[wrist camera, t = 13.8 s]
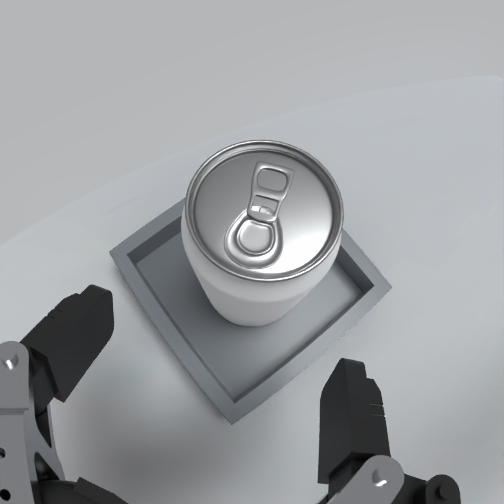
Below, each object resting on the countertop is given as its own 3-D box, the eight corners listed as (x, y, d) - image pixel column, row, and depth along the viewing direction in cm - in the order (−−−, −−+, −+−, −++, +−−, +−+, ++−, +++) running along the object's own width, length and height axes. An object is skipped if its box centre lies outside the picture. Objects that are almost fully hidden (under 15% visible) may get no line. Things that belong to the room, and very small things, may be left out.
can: (194, 313, 21) (144, 263, 10) (221, 229, 23) (208, 117, 12) (285, 338, 21) (339, 317, 9) (305, 252, 23) (362, 156, 12)
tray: (263, 168, 26) (266, 147, 23) (375, 295, 23) (392, 287, 20) (123, 264, 23) (108, 251, 20) (232, 415, 20) (231, 425, 17)
